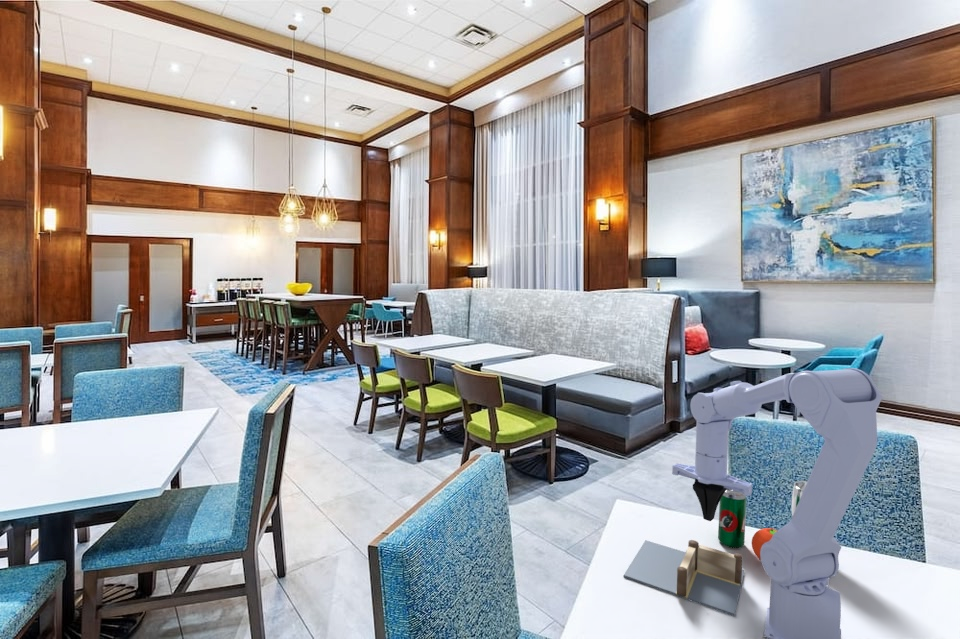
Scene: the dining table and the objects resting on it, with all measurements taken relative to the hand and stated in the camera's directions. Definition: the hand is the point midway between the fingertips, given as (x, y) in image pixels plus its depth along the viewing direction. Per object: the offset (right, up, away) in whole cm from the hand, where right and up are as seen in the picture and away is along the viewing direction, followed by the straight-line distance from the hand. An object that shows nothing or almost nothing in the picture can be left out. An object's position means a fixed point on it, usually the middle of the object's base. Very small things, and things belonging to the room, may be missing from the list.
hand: (708, 518), depth 95 cm
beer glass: (+22, -9, +3) cm, 24 cm away
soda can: (+9, -9, +8) cm, 15 cm away
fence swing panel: (-7, -9, -6) cm, 13 cm away
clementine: (+13, -10, 0) cm, 16 cm away
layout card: (-6, -10, -3) cm, 12 cm away
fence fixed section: (-1, -9, -4) cm, 10 cm away
